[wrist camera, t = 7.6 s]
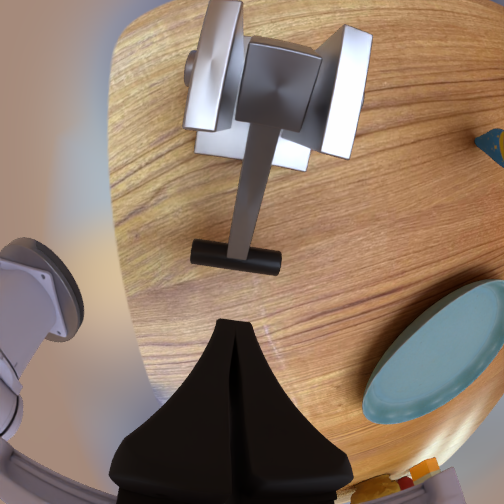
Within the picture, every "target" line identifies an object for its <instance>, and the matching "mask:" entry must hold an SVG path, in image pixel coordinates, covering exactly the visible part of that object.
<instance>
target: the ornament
mask: <svg viewBox="0 0 504 504" xmlns="http://www.w3.org/2000/svg"><path fill="white" fill-rule="evenodd" d="M475 144H476V146H477V147H479V148H480V149H481V150H482V151H484V152H485V153H486V154H487V155H488V156H490V157H491V158H492V159H493V160H494V161H495V162H496V163H498V164H499V165H500V166H502V167H503V168H504V130H502V129H498V128H496V129H493V130H490V131H489V132H487V133H485V134H483V135H481V136H479V137H476V138H475Z"/></svg>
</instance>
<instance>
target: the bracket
mask: <svg viewBox="0 0 504 504" xmlns="http://www.w3.org/2000/svg"><path fill="white" fill-rule="evenodd" d="M251 38H252V37H250V36H243V2H242V1H238V0H210V1H209V4H208V8H207V11H206V15H205V18H204V22H203V26H202V30H201V34H200V38H199V42H198V46H197V50H193V51H191V52H190V53H189V55H188V57H187V60H186V64H185V70H184V82H185V85H186V86H187V87H189V89H188V95H187V100H186V106H185V112H184V118H183V125H182V127H183V129H185V130H193V131H197V133H196V140H195V146H194V153H195V154H202V155H210V156H217V157H224V158H231V159H238V160H243V157H244V152H245V147H246V141H247V136H248V131H249V126H250V123H246V122H240V121H236V120H235V113H236V107H237V102H238V96H239V90H240V84H241V79H242V73H243V68H244V63H245V58H246V52H247V47H248V43H249V41H250V40H251ZM372 40H373V35H372V34H369V33H367V32H364V31H362V30H359V29H357V28H354V27H351V26H349V25H346V24H344V25H343V26H342V27H341V28H339V29H338V30H337V31H336V32H335V33H334V34H333V35H332V36H330V37H329V38H328V39H327V40H326V41H325V42H324V43H323V44H322V45H321V46H320V47H319V48H318V49H316V50H314V51H315V52H316V53H318V54H319V55H320V56H321V57H322V59H323V60H322V64H321V67H320V70H319V73H318V77H317V80H316V83H315V87H314V90H313V93H312V96H311V100H310V103H309V106H308V109H307V113H306V116H305V119H304V122H303V125H302V129H301V131H300V133H298V132H293V131H289V130H284V129H281V132H280V135H279V139H278V143H277V146H276V150H275V154H274V158H273V161H272V166H278V167H283V168H288V169H293V170H297V171H302V172H306V171H307V167H308V162H309V158H310V153H311V149H312V150H314V151H317V152H319V153H322V154H326V155H330V156H334V157H338V158H341V159H345V160H349V159H350V156H351V152H352V148H353V143H354V139H355V135H356V130H357V125H358V121H359V116H360V111H361V109H362V106H363V102H364V95H365V93H364V90H365V85H366V79H367V73H368V67H369V61H370V54H371V47H372Z"/></svg>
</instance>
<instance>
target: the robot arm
mask: <svg viewBox="0 0 504 504" xmlns="http://www.w3.org/2000/svg"><path fill="white" fill-rule="evenodd" d="M49 332H50V333H53V334H56V335H59V336H62V337H66V336H67V335H68V333H67V330H66V327H65V323H64V320H63V317H62V313H61V309H60V306H59V302H58V298H57V294H56V290H55V286H54V281H53V277H52V274H51V273H50V272H48V271H45V270H41V269H38V268H34V267H30V266H26V265H23V264H19V263H16V262H12V261H9V260H5V259H2V258H0V499H1V500H2V501H3V502H5V503H6V504H334V500H337V494H336V491H337V490H339V489H340V488H342V487H344V486H346V485H347V484H349V483H350V482H351V481H352V480H353V478H354V476H353V472H352V468H351V465H350V462H349V460H348V457H347V454H345V453H344V452H343V451H341V450H340V449H339V448H338V447H336V446H335V445H334V444H332V443H331V442H330V441H329V440H328V439H326V438H325V437H324V436H323V435H322V434H321V433H320V432H319V431H318V430H317V429H316V428H315V427H314V426H313V425H312V424H311V423H310V422H309V421H308V420H307V419H306V418H305V417H304V416H303V414H302V413H301V412H300V411H299V410H298V409H297V407H296V406H295V405H294V404H293V402H292V401H291V400H290V398H289V397H288V396H287V394H286V393H285V392H284V390H283V389H282V387H281V385H280V384H279V382H278V381H277V379H276V377H275V376H274V374H273V372H272V370H271V369H270V367H269V365H268V363H267V361H266V359H265V357H264V355H263V353H262V350H261V348H260V346H259V343H258V341H257V338H256V336H255V333H254V330H253V326H252V324H251V323H250V322H243V321H235V320H228V319H221V318H220V319H218V320H217V321H216V326H215V329H214V332H213V334H212V336H211V339H210V341H209V343H208V345H207V347H206V348H205V350H204V352H203V354H202V356H201V357H200V359H199V360H198V362H197V364H196V365H195V367H194V368H193V370H192V371H191V373H190V374H189V375H188V377H187V378H186V379H185V381H184V382H183V383H182V385H181V386H180V387H179V388H178V389H177V391H176V392H175V393H174V394H173V395H172V396H171V397H170V399H169V400H168V401H167V402H166V403H165V404H164V405H163V406H162V407H161V408H160V409H159V410H158V411H157V412H156V413H155V414H153V415H152V416H151V417H150V418H149V419H148V420H147V421H146V422H145V423H143V424H142V425H141V426H140V427H138V428H137V429H136V430H134V431H133V432H132V433H130V434H129V435H128V436H126V437H125V438H124V440H123V441H122V443H121V444H120V446H119V447H118V449H117V451H116V453H115V455H114V458H113V460H112V463H111V467H110V471H109V477H110V478H111V480H112V481H113V482H114V483H115V484H117V485H118V486H119V491H118V496H114V495H111V494H108V493H105V492H102V491H100V490H97V489H94V488H91V487H89V486H86V485H84V484H81V483H79V482H77V481H74V480H72V479H70V478H67V477H65V476H63V475H61V474H59V473H57V472H55V471H53V470H51V469H49V468H47V467H45V466H43V465H41V464H39V463H37V462H36V461H34V460H32V459H30V458H28V457H27V456H25V455H24V454H22V453H20V452H19V451H17V450H15V449H14V448H13V447H12V446H11V445H10V444H9V443H8V442H7V441H8V440H9V439H10V438H11V437H12V436H14V434H15V433H16V431H17V430H18V428H19V426H20V424H21V421H22V417H23V400H22V397H21V396H20V394H19V393H20V391H21V389H22V388H23V386H22V385H21V384H20V382H19V381H18V380H19V378H20V377H21V375H22V373H23V371H24V370H25V368H26V366H27V365H28V363H29V362H30V360H31V358H32V357H33V355H34V354H35V352H36V351H37V349H38V347H39V346H40V344H41V343H42V341H43V340H44V338H45V337H46V335H47V334H48V333H49ZM359 504H466V502H465V499H464V495H463V492H462V489H461V486H460V483H459V481H458V478H457V475H456V472H455V469H454V467H450V468H448V469H446V470H444V471H442V472H440V473H438V474H436V475H434V476H432V477H430V478H428V479H427V480H425V481H424V482H423V483H420V484H418V485H415V486H413V487H410V488H408V489H405V490H402V491H399V492H396V493H393V494H390V495H387V496H384V497H381V498H377V499H374V500H370V501H367V502H363V503H359Z"/></svg>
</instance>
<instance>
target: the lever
mask: <svg viewBox="0 0 504 504" xmlns="http://www.w3.org/2000/svg"><path fill="white" fill-rule="evenodd" d="M322 60H323V59H322V57H321V56H320V55H319V54H318V53H316V52H315V51H314V50H313V49H312V48H311V47H307V46H303V45H299V44H295V43H291V42H286V41H282V40H277V39H272V38H266V37H261V36H253V37H252V38H251V40H250V41H249V43H248V47H247V52H246V58H245V63H244V68H243V73H242V79H241V84H240V90H239V96H238V102H237V107H236V113H235V120H236V121H240V122H246V123H250V126H249V131H248V136H247V141H246V147H245V152H244V157H243V162H242V168H241V173H240V179H239V184H238V190H237V195H236V201H235V206H234V212H233V218H232V224H231V230H230V236H229V242H228V243H222V242H216V241H209V240H202V239H194V240H193V243H192V248H191V255H190V262H191V264H197V265H204V266H210V267H217V268H224V269H231V270H238V271H245V272H252V273H259V274H266V275H273V276H277V275H278V274H279V272H280V268H281V262H282V254H281V252H280V251H275V250H269V249H262V248H256V247H250V244H251V240H252V237H253V233H254V229H255V225H256V222H257V218H258V214H259V210H260V206H261V203H262V199H263V195H264V191H265V188H266V184H267V180H268V176H269V173H270V169H271V165H272V161H273V158H274V154H275V150H276V146H277V143H278V139H279V135H280V132H281V129H284V130H289V131H293V132H298V133H300V131H301V129H302V125H303V122H304V119H305V116H306V113H307V109H308V106H309V103H310V100H311V96H312V93H313V90H314V87H315V83H316V80H317V77H318V73H319V70H320V67H321V64H322Z"/></svg>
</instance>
